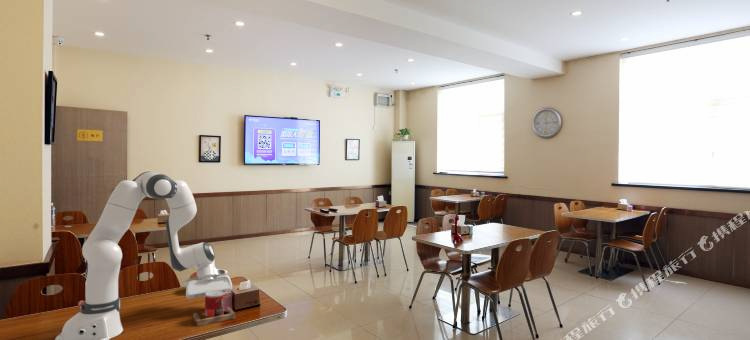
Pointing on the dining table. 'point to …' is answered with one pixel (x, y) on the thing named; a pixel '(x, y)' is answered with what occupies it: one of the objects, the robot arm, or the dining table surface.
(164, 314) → the dining table surface
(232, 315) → the tray
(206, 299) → the canned food
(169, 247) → the robot arm
